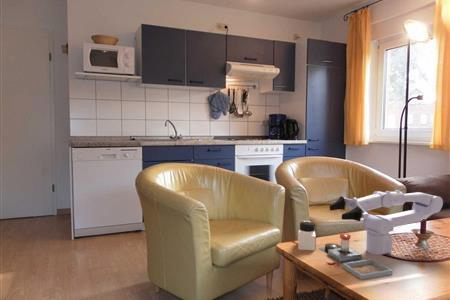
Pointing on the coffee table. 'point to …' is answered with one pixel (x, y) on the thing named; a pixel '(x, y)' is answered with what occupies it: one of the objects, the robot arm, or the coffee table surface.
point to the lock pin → (344, 243)
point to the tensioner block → (335, 253)
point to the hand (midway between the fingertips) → (336, 212)
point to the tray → (368, 275)
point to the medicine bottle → (306, 236)
